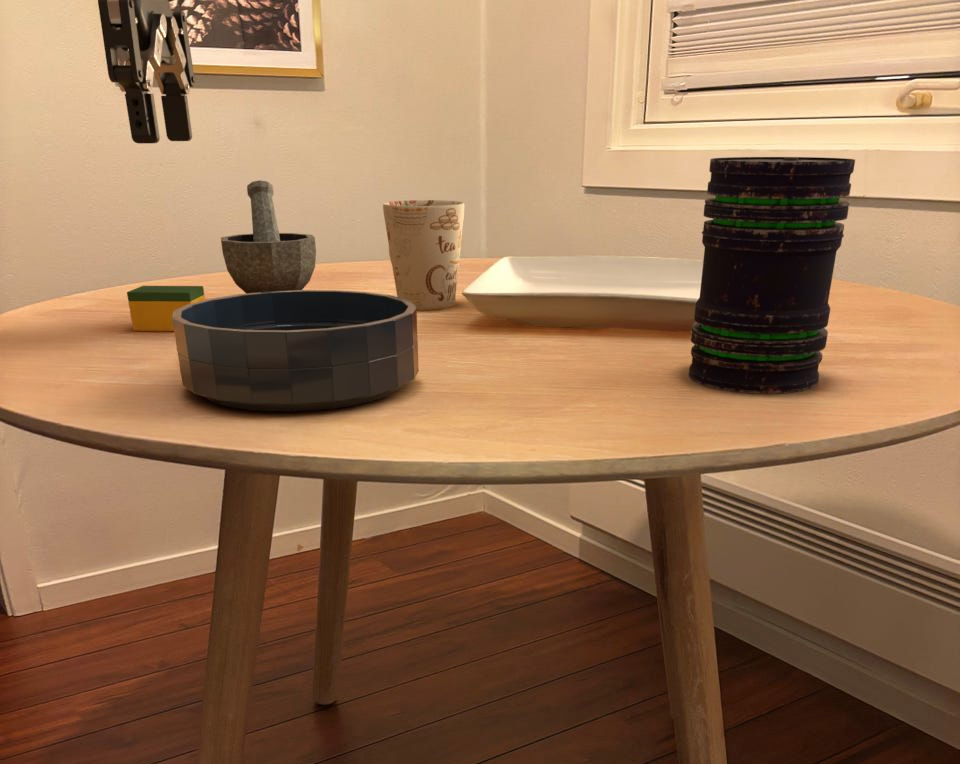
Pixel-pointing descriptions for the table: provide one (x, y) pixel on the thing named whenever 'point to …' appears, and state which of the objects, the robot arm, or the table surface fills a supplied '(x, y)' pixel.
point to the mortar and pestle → (268, 250)
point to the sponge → (160, 305)
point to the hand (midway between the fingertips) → (164, 142)
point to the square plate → (591, 291)
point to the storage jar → (768, 271)
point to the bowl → (297, 348)
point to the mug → (425, 250)
